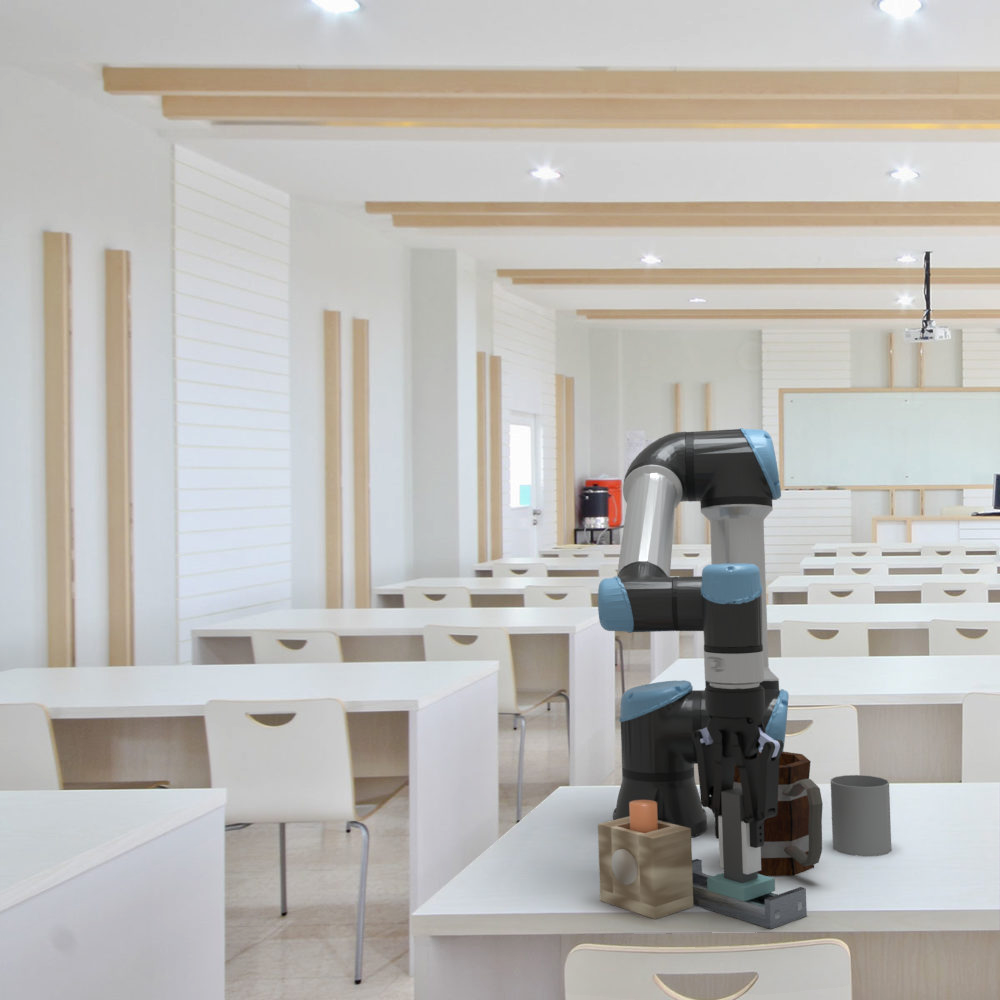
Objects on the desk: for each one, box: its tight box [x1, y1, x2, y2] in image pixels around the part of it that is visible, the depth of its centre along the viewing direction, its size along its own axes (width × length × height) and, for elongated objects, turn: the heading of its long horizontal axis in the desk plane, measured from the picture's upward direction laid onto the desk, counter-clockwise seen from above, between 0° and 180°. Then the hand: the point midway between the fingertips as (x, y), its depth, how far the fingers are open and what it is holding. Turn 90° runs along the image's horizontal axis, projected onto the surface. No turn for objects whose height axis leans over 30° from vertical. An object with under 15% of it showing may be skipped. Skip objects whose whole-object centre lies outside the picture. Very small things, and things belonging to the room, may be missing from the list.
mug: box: [733, 750, 823, 877], centre depth 166 cm, size 20×14×15 cm
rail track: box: [692, 858, 808, 930], centre depth 151 cm, size 18×7×3 cm, turn 38°
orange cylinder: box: [629, 800, 658, 833], centre depth 152 cm, size 4×4×8 cm
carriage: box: [707, 788, 776, 901], centre depth 149 cm, size 6×6×13 cm
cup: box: [830, 774, 892, 857], centre depth 175 cm, size 8×8×10 cm
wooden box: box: [597, 816, 694, 920], centre depth 152 cm, size 10×7×10 cm
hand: (740, 868), depth 149 cm, fingers closed on carriage, 3 cm apart
